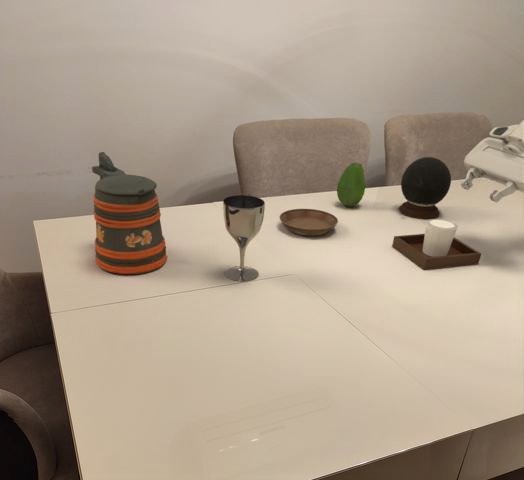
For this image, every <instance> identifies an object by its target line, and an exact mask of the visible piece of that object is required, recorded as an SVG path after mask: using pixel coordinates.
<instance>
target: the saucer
mask: <svg viewBox="0 0 524 480" xmlns="http://www.w3.org/2000/svg"><path fill="white" fill-rule="evenodd" d="M279 220H280V222H281V224H282V225H283V227H285V228H286V229H287V230H288V231H290V232H292V233H294V234H297V235H301V236H309V237H311V236H312V237H313V236H314V237H315V236H321V235H325V234H327V233H328V232H331V230H333V229H334V228H335V227H336V225H338V223H339V218H337V217H336V216H335V215H334V214H332V213H330V212H327V211H324V210H320V209H314V208H293V209H289V210H286V211H283V212H281V214H280V215H279Z"/></svg>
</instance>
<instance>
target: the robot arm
mask: <svg viewBox="0 0 524 480" xmlns="http://www.w3.org/2000/svg"><path fill="white" fill-rule="evenodd" d="M488 134H489V137H486V138H484V139H482V140H480V142H478V143H477V144H476V145H475V146H473V148H472V149H471V150H470V151H469V153H468V154H466V155H465V157H464V159H463V165H464V167H465V169H466V170H467V174H466V176H465V178H464V179H463V180H462V181H461V183H460V186H461V188H462V189H463V190H466V191H469V190H470V189H471V188H472V187H473V186H474V184H473V181H474V179H477V178H478V177H480V178H481V177H482V178H484V179H487V180H489V181H492V182H495V183H498V184H500V185H503V186H504V187H502V188H500V189H498V190H497V189H494V190H493V191H492V192H491V193H490V194H489V199H490V200H491V201H493V202H494V203H499V202H500V201H501V200H502V199H503V198H505V197H507V196H510V195H512V194H514V193H515V192H516V191H518V192H522V193H524V119H523V120H521V122H519V124H512V125H507V126H506V125H505V126H496V127H494V128H492V129H491V130H490V131H489V133H488Z"/></svg>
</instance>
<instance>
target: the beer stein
mask: <svg viewBox="0 0 524 480" xmlns="http://www.w3.org/2000/svg"><path fill="white" fill-rule="evenodd" d="M91 170H92V171H91V172H92V173H93V174H96V175H97V176H99V180H97V181H96V183H95V186H94V194H93V196H92V198H93V218H94V220H95V233H96V237H95V238H94V248H95V249H94V250H95V251H94V252H95V263H96V265H97V266H98V267H100V268H101V269H102V270H103V271H106V272H109V273H111V274H117V275H140V274H147V273H150V272H153V271H155V270H157V269H159V268H161V267H163V266H164V265H165V264H166V261H167V260H168V255H167V246H166V240H165V237H164V235H163V229H162V222H161V216H162V215H161V208H160V204H159V198H158V194H157V193H156V189H157V186H158V185H157V183H156V182H155V180H152V179H150V178H149V177H146V176H141V175H137V174H128V173H125V171H124V170H122V169H119V168H118V167H116V166H115V165H114V163H113V161H112V159H111V157H110V156H109V155H108V154H106V152H104V151H100V152H99V153H98V165H94V166H92V167H91Z"/></svg>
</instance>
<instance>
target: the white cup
mask: <svg viewBox="0 0 524 480" xmlns="http://www.w3.org/2000/svg"><path fill="white" fill-rule="evenodd" d="M457 229H458V224H456V223H455V222H453V221H450V220H447V219H443V218H442V219H441V218H434V219H427V220H426V223H425V229H424V234H425V236H424V243H423V251H422V252H423V253H424V254H426V255H428V256H432V257H438V256H447V254H448V251H449V248H450V246H451V243H452V240H453V238H454V237H455V235H456V232H457Z"/></svg>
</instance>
